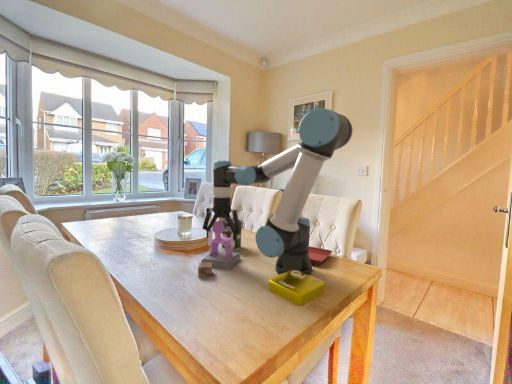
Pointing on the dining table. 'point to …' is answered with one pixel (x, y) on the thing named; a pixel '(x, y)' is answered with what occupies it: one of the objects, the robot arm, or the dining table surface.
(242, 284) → the dining table surface
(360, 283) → the dining table surface
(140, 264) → the dining table surface
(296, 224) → the robot arm
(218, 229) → the chair
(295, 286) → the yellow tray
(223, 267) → the plinth
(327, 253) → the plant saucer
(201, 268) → the walnut block
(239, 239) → the coffee can
